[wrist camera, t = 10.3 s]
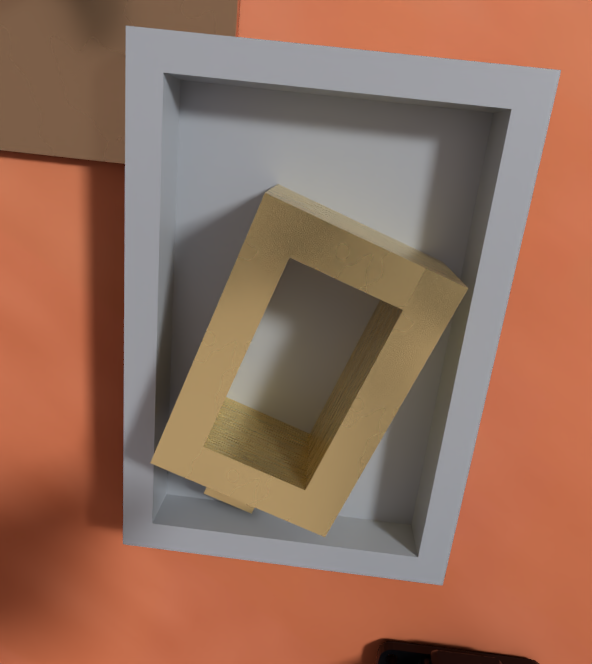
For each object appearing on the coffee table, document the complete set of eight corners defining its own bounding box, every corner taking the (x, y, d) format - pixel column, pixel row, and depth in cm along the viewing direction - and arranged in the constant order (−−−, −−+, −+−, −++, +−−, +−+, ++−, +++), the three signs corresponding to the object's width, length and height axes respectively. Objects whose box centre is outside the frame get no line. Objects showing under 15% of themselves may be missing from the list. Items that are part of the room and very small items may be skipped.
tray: (431, 542, 21) (442, 585, 19) (143, 505, 21) (123, 544, 19) (531, 80, 16) (561, 70, 14) (152, 41, 16) (125, 25, 14)
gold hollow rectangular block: (278, 184, 17) (264, 192, 14) (443, 262, 17) (468, 288, 14) (160, 456, 20) (128, 515, 17) (302, 516, 21) (297, 585, 17)
